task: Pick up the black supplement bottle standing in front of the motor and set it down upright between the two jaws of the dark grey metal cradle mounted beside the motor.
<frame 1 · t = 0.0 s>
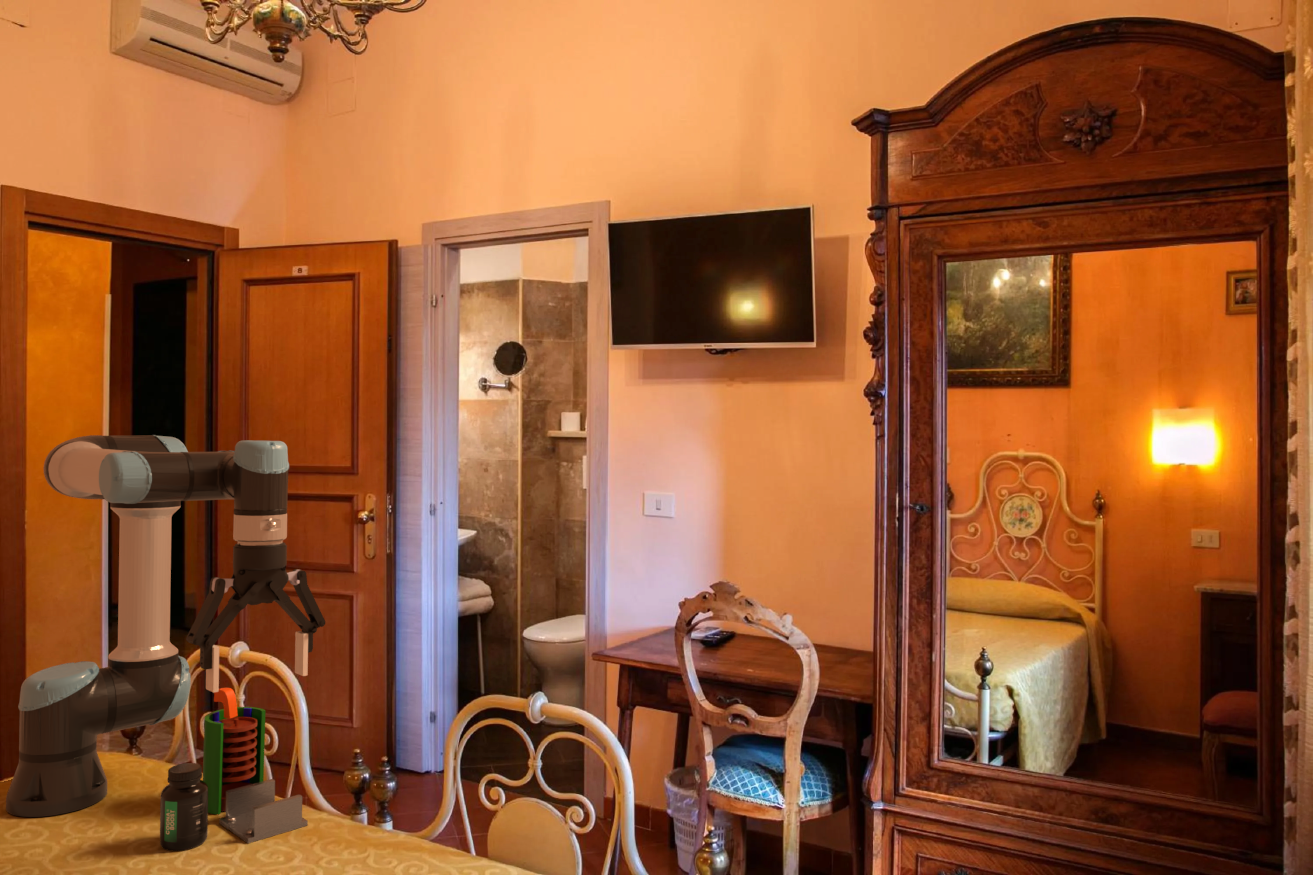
hand: (258, 682, 143), 28 cm above the table, tool pointing down, fingers open, 13 cm apart
cradle: (263, 824, 159), on the table
supplement bottle: (183, 843, 151), on the table
motor: (230, 804, 168), on the table
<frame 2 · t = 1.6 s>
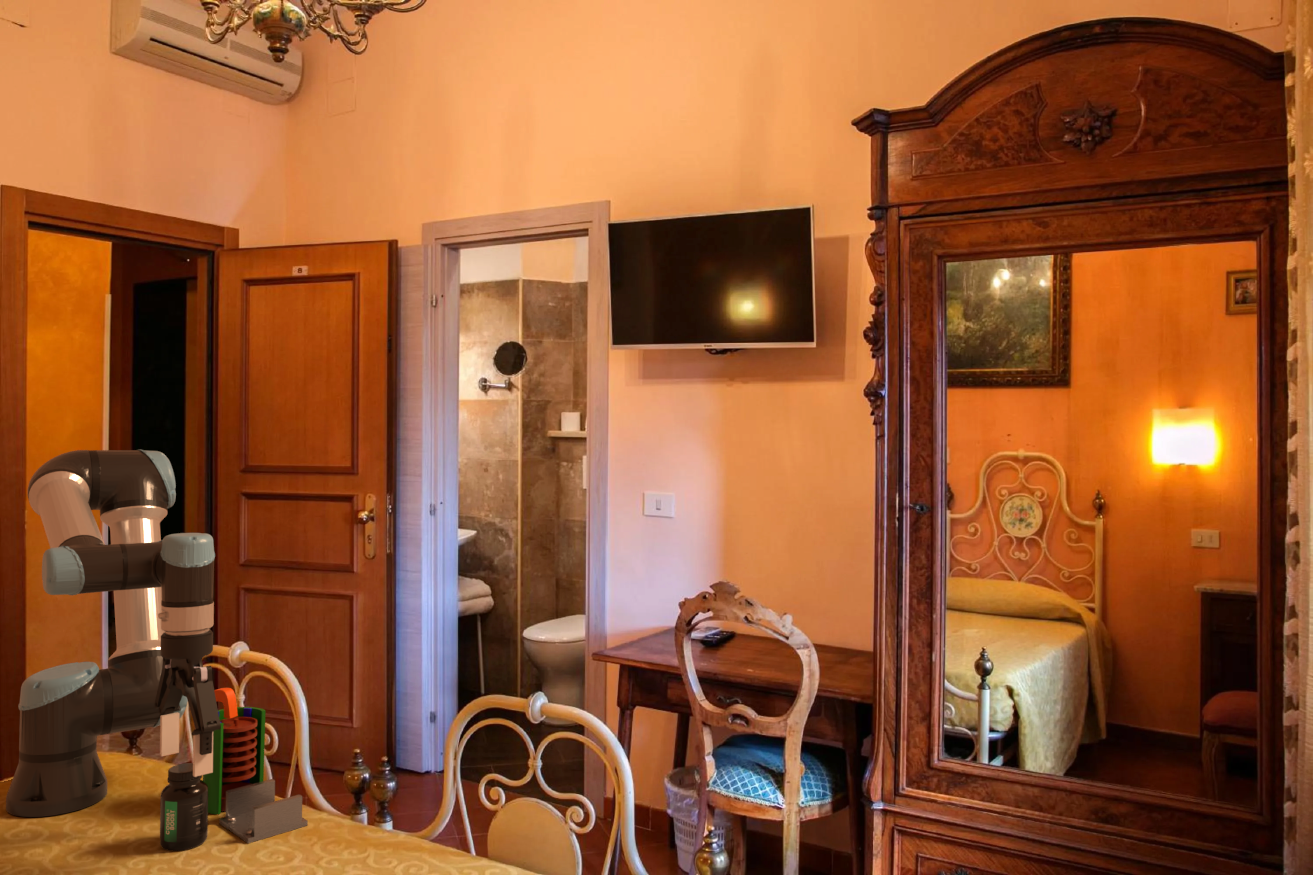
hand: (185, 763, 151), 13 cm above the table, tool pointing down, fingers open, 13 cm apart
nothing on the table moved.
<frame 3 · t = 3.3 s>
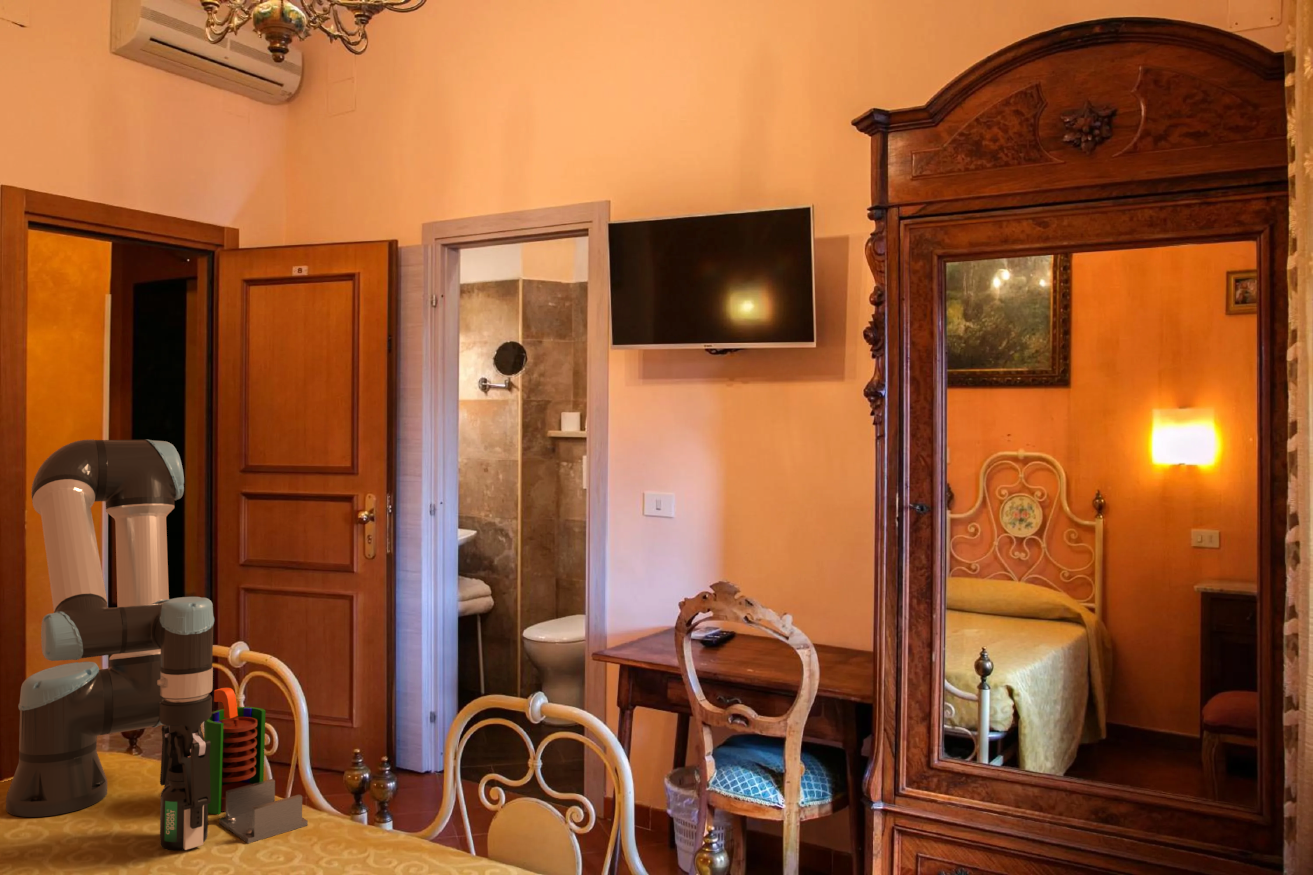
hand: (184, 838, 151), 1 cm above the table, tool pointing down, fingers closed on supplement bottle, 7 cm apart
supplement bottle: (183, 843, 151), on the table, touching gripper
everything else where it was.
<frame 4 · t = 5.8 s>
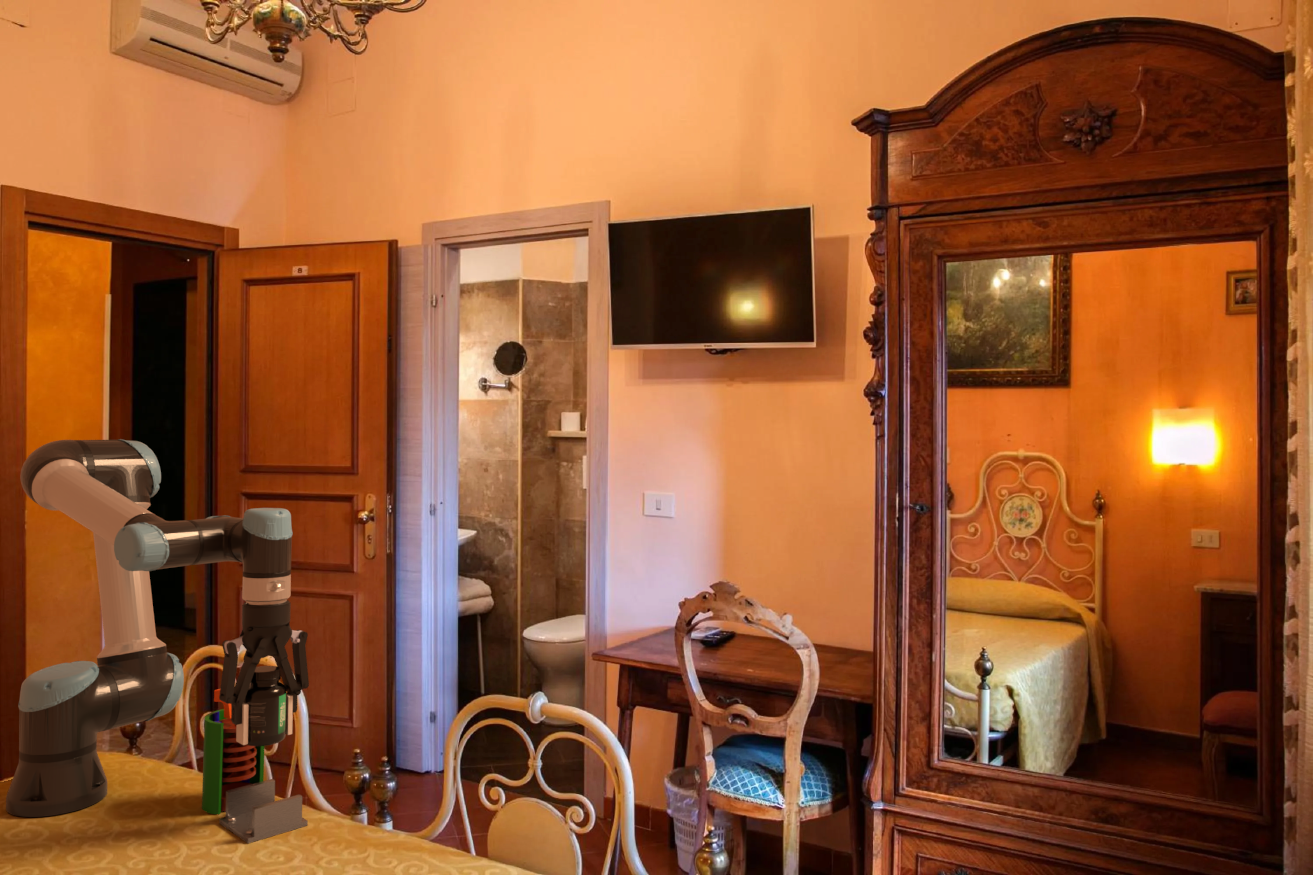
hand: (264, 737, 159), 15 cm above the table, tool pointing down, fingers closed on supplement bottle, 7 cm apart
supplement bottle: (263, 741, 159), point 14 cm above the table, touching gripper
everything else where it was.
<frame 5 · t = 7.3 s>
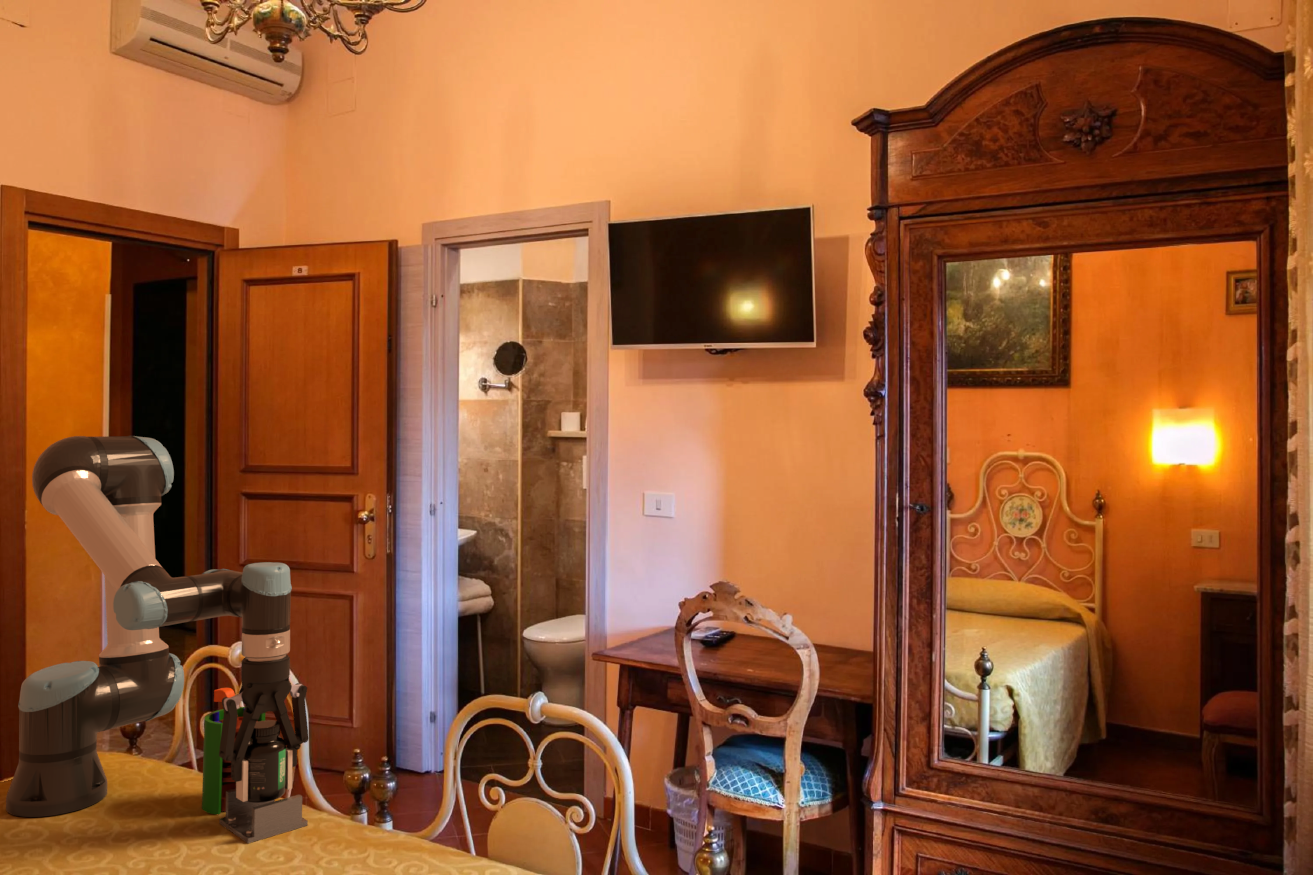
hand: (264, 792, 159), 5 cm above the table, tool pointing down, fingers closed on supplement bottle, 7 cm apart
supplement bottle: (263, 796, 159), point 5 cm above the table, touching gripper
everything else where it was.
when the fingers open (2 cm above the table, at t = 8.3 s): supplement bottle drops 1 cm, resting on cradle.
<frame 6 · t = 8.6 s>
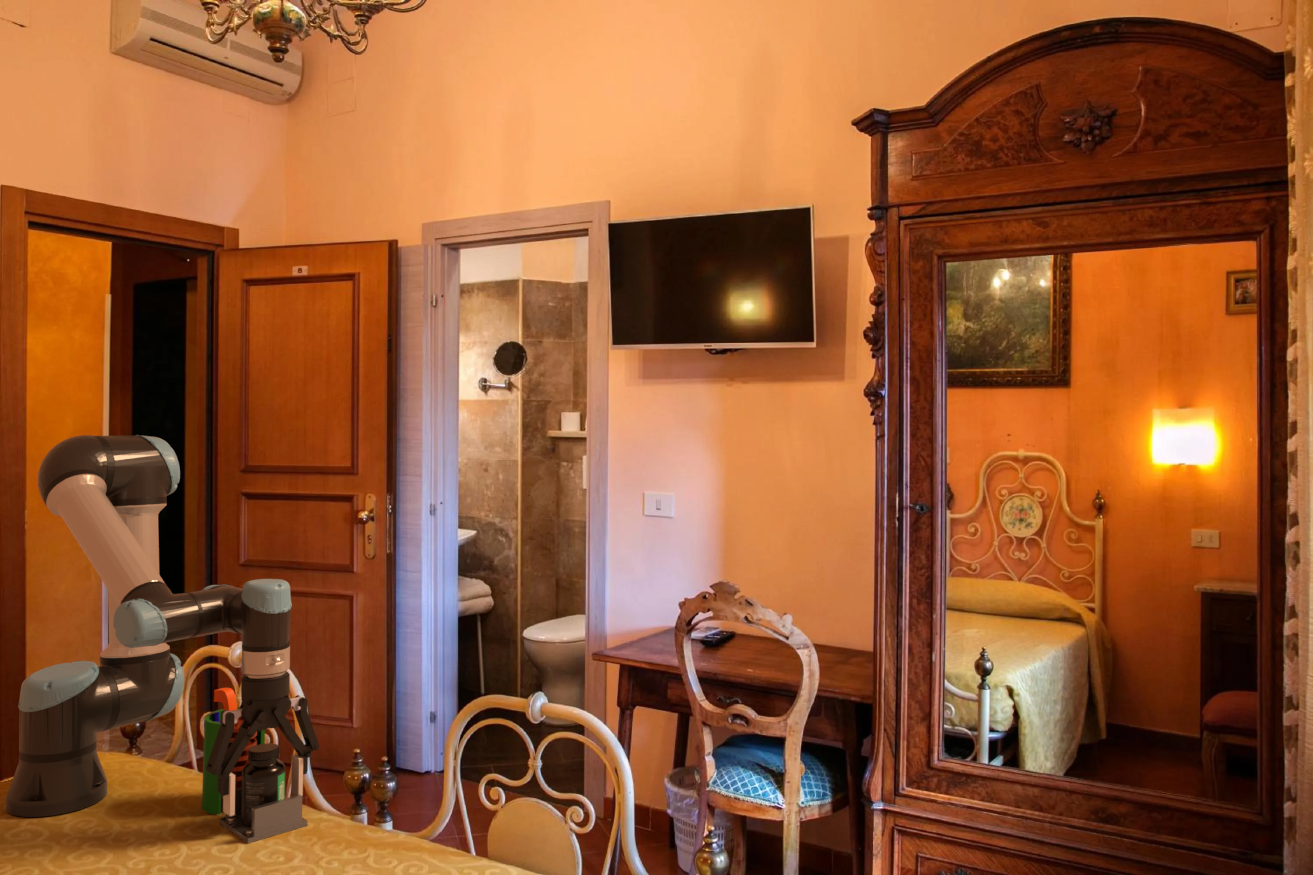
hand: (263, 803, 159), 3 cm above the table, tool pointing down, fingers open, 11 cm apart
supplement bottle: (262, 819, 159), point 1 cm above the table, touching cradle
everything else where it was.
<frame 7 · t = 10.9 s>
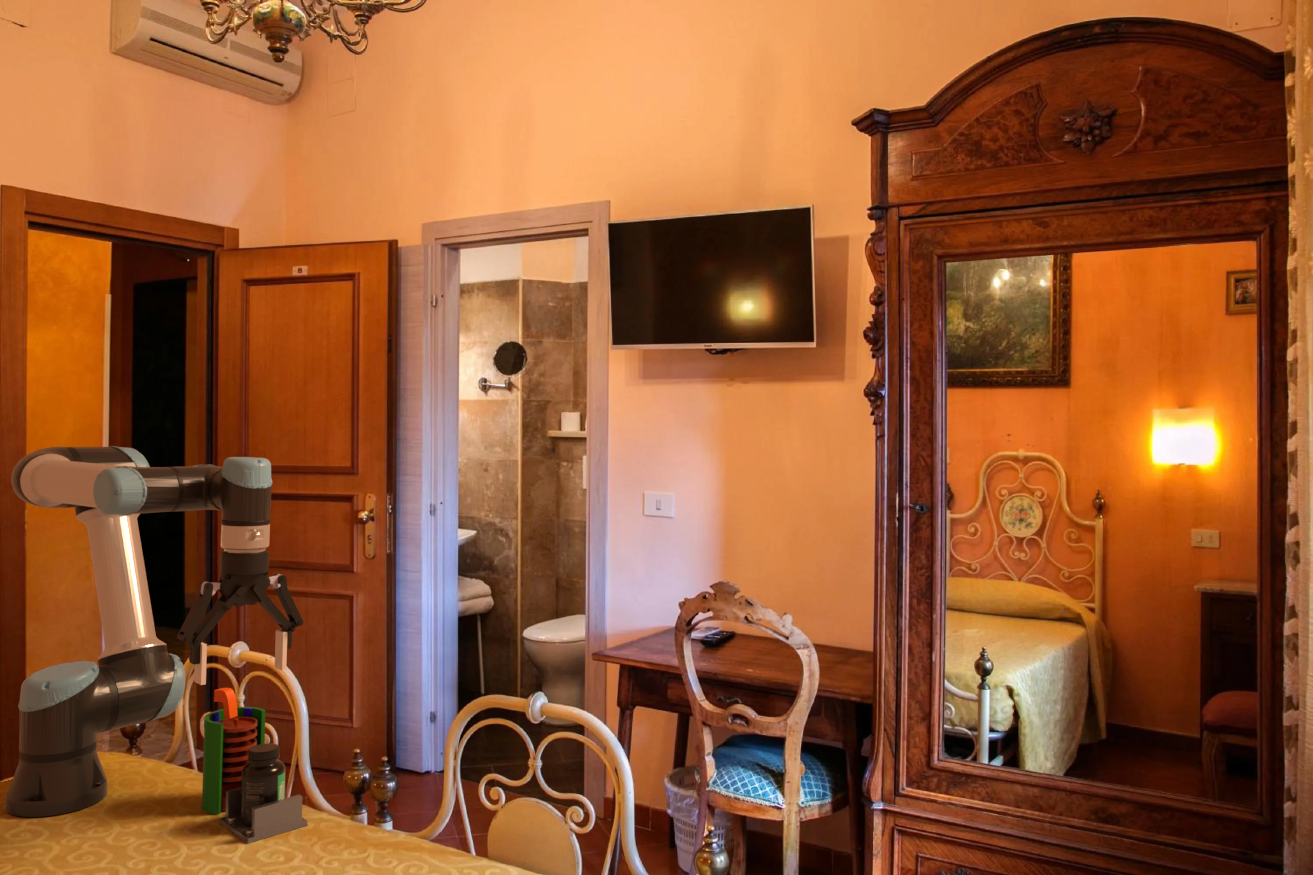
hand: (241, 675, 159), 25 cm above the table, tool pointing down, fingers open, 13 cm apart
nothing on the table moved.
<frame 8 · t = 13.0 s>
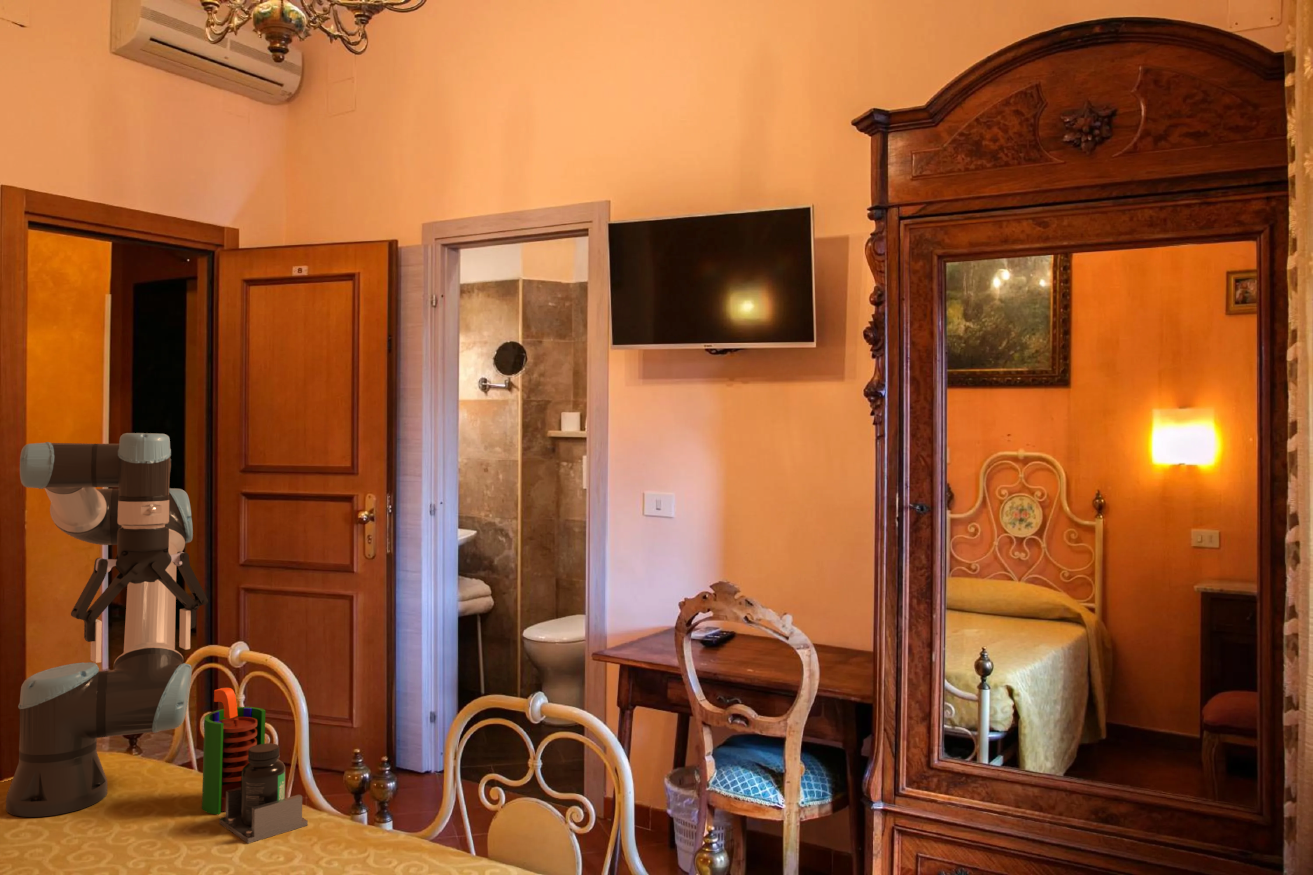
hand: (141, 654, 156), 29 cm above the table, tool pointing down, fingers open, 13 cm apart
nothing on the table moved.
at the end: supplement bottle 0.3 cm off-centre on the cradle, point 0.6 cm above the cradle's base; supplement bottle tilted 0°; the gripper is holding nothing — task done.
